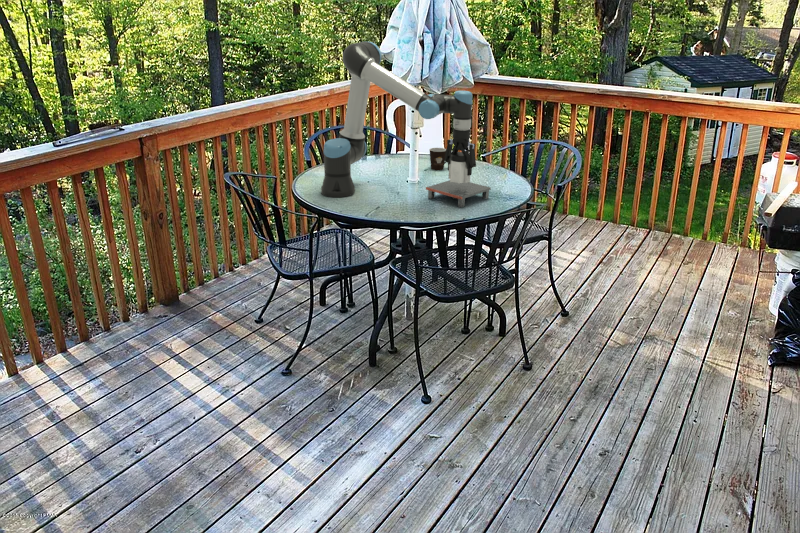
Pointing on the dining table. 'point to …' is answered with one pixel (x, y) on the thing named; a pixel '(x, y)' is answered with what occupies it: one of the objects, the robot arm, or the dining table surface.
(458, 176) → the jar
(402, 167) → the dining table surface
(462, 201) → the stand
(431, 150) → the coffee mug
